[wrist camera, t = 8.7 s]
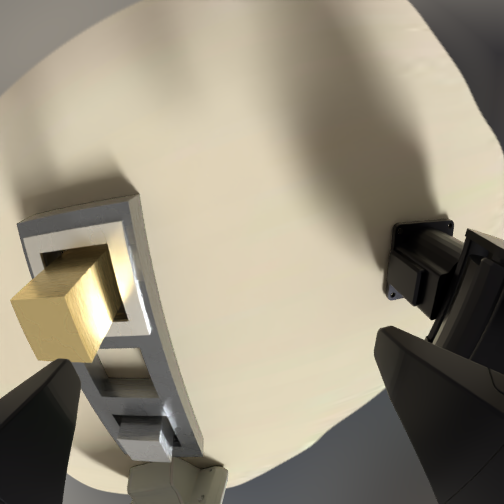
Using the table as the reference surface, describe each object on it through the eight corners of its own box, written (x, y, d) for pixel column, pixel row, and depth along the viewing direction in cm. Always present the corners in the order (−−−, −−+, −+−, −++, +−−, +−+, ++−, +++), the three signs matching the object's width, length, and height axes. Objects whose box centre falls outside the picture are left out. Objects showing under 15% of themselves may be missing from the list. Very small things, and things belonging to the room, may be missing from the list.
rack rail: (139, 193, 18) (126, 202, 16) (203, 438, 27) (203, 458, 25) (34, 214, 18) (14, 224, 15) (128, 437, 27) (124, 456, 24)
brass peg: (114, 241, 19) (64, 296, 12) (127, 292, 20) (91, 362, 13) (68, 248, 19) (10, 300, 11) (83, 296, 20) (38, 360, 13)
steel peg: (164, 400, 25) (159, 441, 20) (174, 424, 26) (171, 462, 22) (126, 400, 25) (116, 438, 20) (139, 423, 26) (132, 460, 21)
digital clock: (145, 487, 32) (140, 541, 22) (107, 461, 29) (95, 522, 19) (239, 475, 32) (247, 539, 22) (208, 448, 28) (210, 526, 18)
